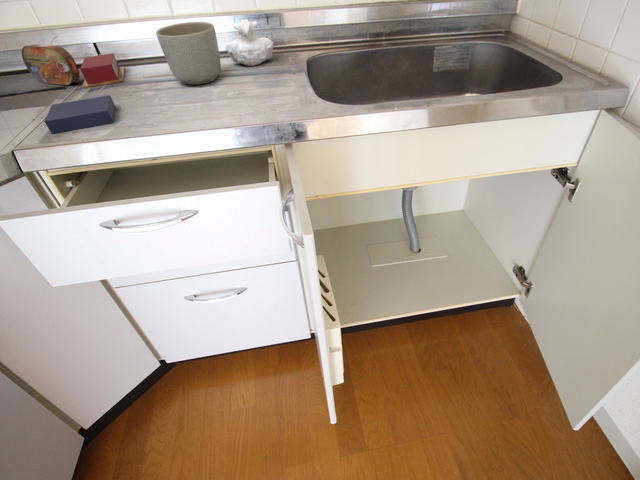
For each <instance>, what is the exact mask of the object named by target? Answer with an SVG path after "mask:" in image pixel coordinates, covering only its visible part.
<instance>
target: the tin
mask: <svg viewBox="0 0 640 480" xmlns="http://www.w3.org/2000/svg"><path fill="white" fill-rule="evenodd" d="M21 57H22V61H23V63H24V65H25V67H26V69H27V70H28V72H29V73H31V75H32V76H33V78H35V79H36V80H37V81H39V82H41V83H43V84H48V85H57V86H69V85H72V84H75V83H77V82H79V79H80V71H79V67H78V65H77V63H76V61H75V59H74V57H73V56H72V54H71V53H70V52H69V51H68V50H67V49H65V48H64V47H63V46H60V45H51V44H31V45H24V46H23V47H22V49H21Z"/></svg>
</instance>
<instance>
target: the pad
mask: <svg viewBox="0 0 640 480" xmlns="http://www.w3.org/2000/svg"><path fill="white" fill-rule="evenodd" d="M125 73H126V67H125V66H119V75H118V80H112V81H105V82H99V83H93V84H87V82H86V80H85V79H84V80H83V82H82V85H81V87H82V89H88V88H93V87H94V88H95V87H100V86H101V87H102V86H108V85H112V84H120V83H124V80H125Z"/></svg>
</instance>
